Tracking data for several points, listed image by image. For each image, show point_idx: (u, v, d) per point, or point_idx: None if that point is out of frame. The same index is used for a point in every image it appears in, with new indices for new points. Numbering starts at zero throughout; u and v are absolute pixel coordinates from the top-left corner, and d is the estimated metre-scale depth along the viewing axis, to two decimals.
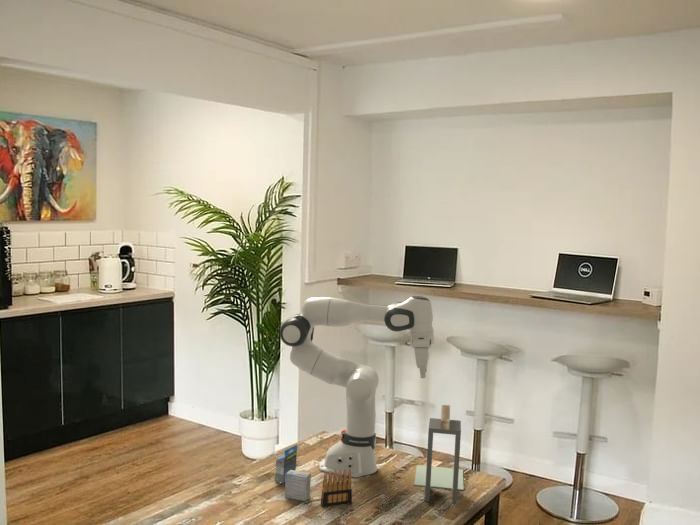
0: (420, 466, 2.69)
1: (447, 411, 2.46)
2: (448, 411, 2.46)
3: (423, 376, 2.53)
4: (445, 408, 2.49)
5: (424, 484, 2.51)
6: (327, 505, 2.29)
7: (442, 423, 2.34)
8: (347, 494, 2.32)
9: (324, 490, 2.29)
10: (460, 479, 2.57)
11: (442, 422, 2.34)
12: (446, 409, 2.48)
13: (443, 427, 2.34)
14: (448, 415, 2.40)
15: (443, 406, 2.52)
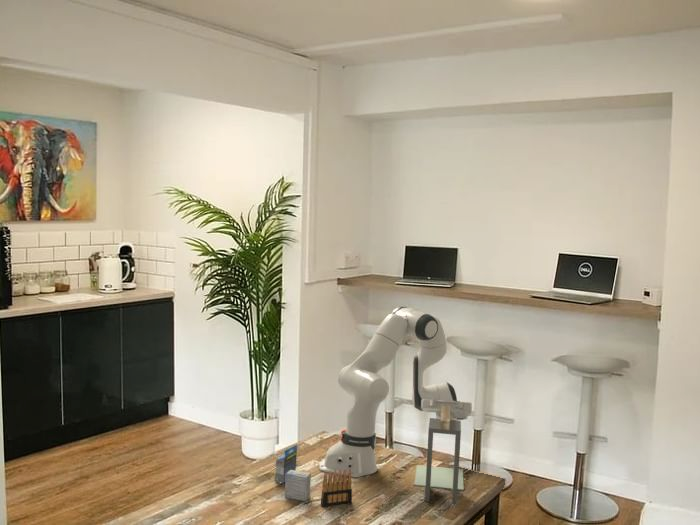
0: (420, 466, 2.69)
1: (447, 411, 2.46)
2: (448, 411, 2.46)
3: (460, 404, 2.68)
4: (445, 408, 2.49)
5: (424, 484, 2.51)
6: (327, 505, 2.29)
7: (442, 423, 2.34)
8: (347, 494, 2.32)
9: (324, 490, 2.29)
10: (460, 479, 2.57)
11: (442, 422, 2.34)
12: (446, 409, 2.48)
13: (443, 427, 2.34)
14: (448, 415, 2.40)
15: (443, 406, 2.52)
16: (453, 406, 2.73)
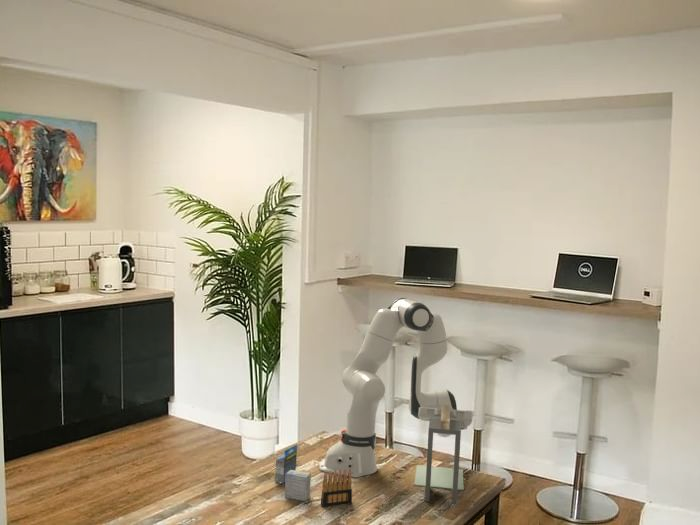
0: (420, 466, 2.69)
1: (447, 411, 2.46)
2: (448, 411, 2.46)
3: (453, 411, 2.51)
4: (445, 408, 2.49)
5: (424, 484, 2.51)
6: (327, 505, 2.29)
7: (442, 423, 2.34)
8: (347, 494, 2.32)
9: (324, 490, 2.29)
10: (460, 479, 2.57)
11: (442, 422, 2.34)
12: (446, 409, 2.48)
13: (443, 427, 2.34)
14: (448, 415, 2.40)
15: (443, 406, 2.52)
16: None
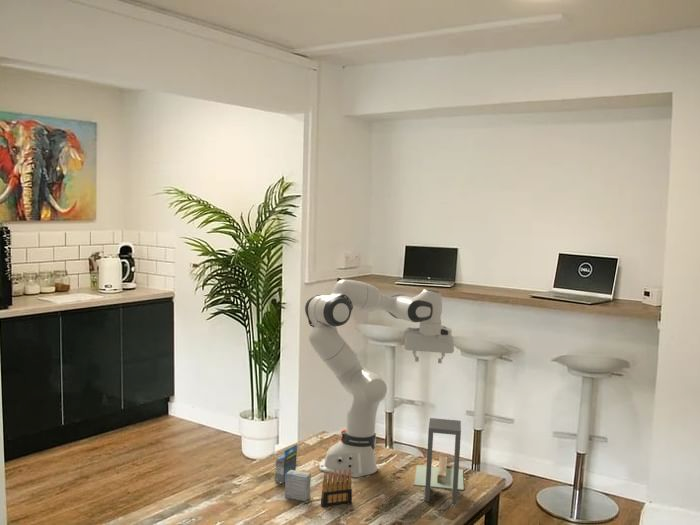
0: (420, 466, 2.69)
1: (444, 463, 2.65)
2: (445, 464, 2.64)
3: (441, 361, 2.79)
4: (442, 460, 2.68)
5: (424, 484, 2.51)
6: (327, 505, 2.29)
7: (439, 477, 2.53)
8: (347, 494, 2.32)
9: (324, 490, 2.29)
10: (460, 479, 2.57)
11: (439, 476, 2.53)
12: (443, 462, 2.66)
13: (439, 481, 2.53)
14: (445, 469, 2.59)
15: (440, 458, 2.70)
16: None
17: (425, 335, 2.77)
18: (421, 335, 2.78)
